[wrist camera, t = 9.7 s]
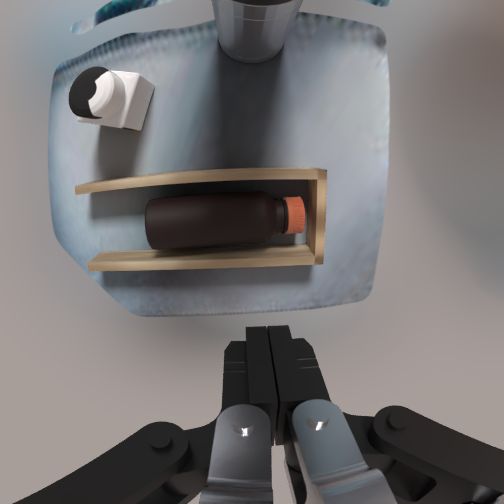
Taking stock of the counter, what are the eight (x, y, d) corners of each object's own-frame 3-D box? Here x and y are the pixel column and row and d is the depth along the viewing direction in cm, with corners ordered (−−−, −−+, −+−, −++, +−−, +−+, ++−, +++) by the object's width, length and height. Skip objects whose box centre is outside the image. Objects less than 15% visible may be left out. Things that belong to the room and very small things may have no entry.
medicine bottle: (100, 124, 34) (54, 119, 23) (113, 79, 32) (72, 60, 21) (141, 131, 35) (104, 125, 24) (155, 85, 33) (124, 61, 22)
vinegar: (140, 217, 32) (309, 206, 33) (151, 190, 37) (296, 181, 38) (152, 260, 36) (304, 250, 37) (159, 230, 41) (293, 221, 43)
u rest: (91, 181, 37) (74, 186, 32) (316, 167, 38) (326, 170, 33) (102, 259, 41) (88, 271, 37) (314, 251, 42) (323, 264, 38)
